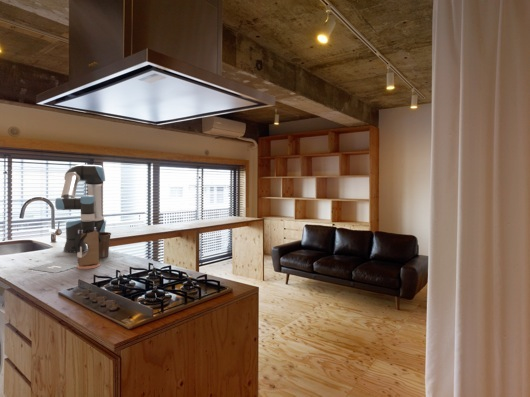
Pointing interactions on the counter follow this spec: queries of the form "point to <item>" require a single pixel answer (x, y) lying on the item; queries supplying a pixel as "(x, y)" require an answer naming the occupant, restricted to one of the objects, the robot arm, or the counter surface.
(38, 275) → the counter surface
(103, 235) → the plant pot
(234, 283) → the counter surface
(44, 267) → the tile
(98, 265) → the coaster
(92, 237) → the decorative block
